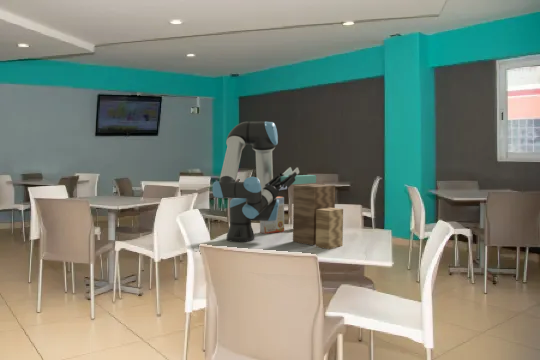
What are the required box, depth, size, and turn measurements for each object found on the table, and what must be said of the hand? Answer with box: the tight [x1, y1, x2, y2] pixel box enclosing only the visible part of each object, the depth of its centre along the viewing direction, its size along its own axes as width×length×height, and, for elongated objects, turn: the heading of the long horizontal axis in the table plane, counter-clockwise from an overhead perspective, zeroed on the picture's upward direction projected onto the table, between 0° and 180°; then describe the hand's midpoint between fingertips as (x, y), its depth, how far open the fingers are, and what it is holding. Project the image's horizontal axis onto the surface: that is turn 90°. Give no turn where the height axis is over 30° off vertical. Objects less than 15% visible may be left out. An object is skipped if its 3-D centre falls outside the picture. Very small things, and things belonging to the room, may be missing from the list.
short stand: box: [315, 207, 344, 250], centre depth 246 cm, size 12×8×19 cm, turn 136°
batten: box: [281, 174, 317, 186], centre depth 249 cm, size 24×4×4 cm, turn 138°
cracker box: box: [259, 196, 285, 235], centre depth 287 cm, size 14×6×21 cm, turn 123°
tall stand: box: [292, 183, 336, 246], centre depth 259 cm, size 18×14×30 cm
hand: (294, 169), depth 246 cm, fingers closed on batten, 4 cm apart
